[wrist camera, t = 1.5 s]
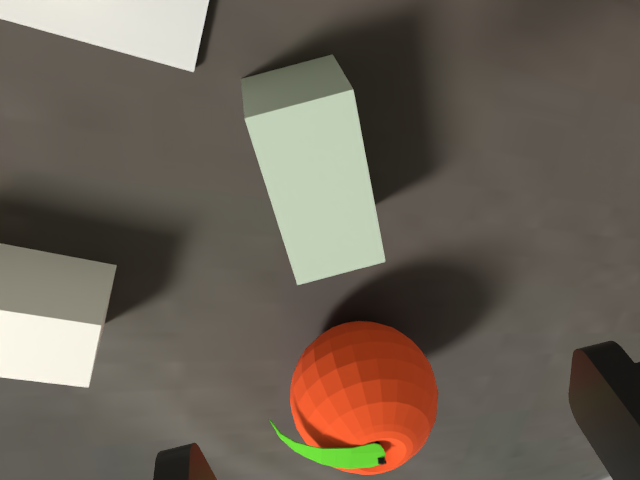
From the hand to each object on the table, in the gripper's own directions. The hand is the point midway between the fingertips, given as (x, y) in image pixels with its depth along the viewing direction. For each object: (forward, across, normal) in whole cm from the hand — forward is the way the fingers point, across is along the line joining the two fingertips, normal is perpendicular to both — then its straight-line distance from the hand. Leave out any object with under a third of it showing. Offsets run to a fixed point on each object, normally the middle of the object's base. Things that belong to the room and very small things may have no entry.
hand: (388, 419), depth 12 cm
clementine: (+13, +1, +11) cm, 17 cm away
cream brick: (+13, +13, +3) cm, 19 cm away
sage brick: (+13, 0, 0) cm, 13 cm away
